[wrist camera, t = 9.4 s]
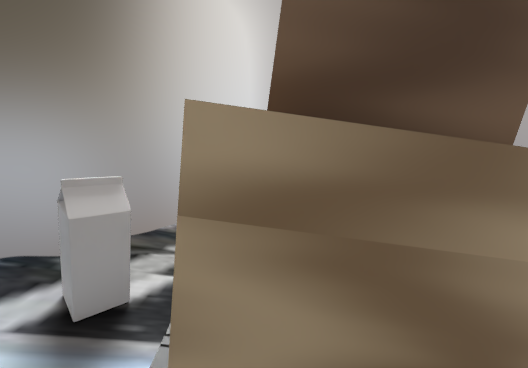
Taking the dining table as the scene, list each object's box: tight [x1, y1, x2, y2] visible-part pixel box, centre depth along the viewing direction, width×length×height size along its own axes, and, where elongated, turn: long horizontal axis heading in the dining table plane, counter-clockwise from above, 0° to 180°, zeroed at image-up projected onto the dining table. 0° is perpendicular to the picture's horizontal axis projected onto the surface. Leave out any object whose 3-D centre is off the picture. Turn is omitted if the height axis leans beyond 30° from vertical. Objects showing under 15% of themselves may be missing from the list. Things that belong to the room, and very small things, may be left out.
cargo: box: [267, 0, 528, 145], centre depth 6 cm, size 4×4×4 cm
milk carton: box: [57, 176, 131, 322], centre depth 37 cm, size 7×7×19 cm
